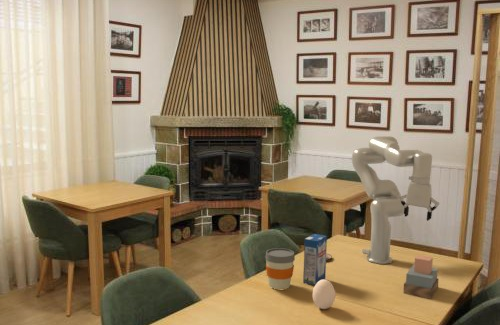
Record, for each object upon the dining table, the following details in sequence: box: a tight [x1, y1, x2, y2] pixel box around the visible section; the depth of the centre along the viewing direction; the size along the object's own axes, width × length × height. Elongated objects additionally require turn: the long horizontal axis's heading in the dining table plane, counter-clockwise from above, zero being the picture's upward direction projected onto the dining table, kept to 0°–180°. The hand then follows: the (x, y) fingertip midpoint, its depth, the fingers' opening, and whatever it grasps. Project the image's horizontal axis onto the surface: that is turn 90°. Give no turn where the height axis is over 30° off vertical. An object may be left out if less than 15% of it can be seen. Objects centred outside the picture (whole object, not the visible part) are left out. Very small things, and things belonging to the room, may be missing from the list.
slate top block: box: [405, 263, 439, 289], centre depth 208 cm, size 10×14×4 cm
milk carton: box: [302, 233, 328, 286], centre depth 215 cm, size 10×6×20 cm, turn 148°
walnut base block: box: [402, 277, 439, 300], centre depth 208 cm, size 11×15×4 cm
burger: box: [326, 252, 333, 263], centre depth 247 cm, size 12×12×8 cm
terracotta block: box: [414, 254, 434, 275], centre depth 207 cm, size 6×6×6 cm
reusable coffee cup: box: [265, 247, 296, 290], centre depth 209 cm, size 12×12×15 cm
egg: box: [312, 278, 336, 310], centre depth 188 cm, size 9×9×11 cm
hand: (417, 217), depth 219 cm, fingers open, 9 cm apart
